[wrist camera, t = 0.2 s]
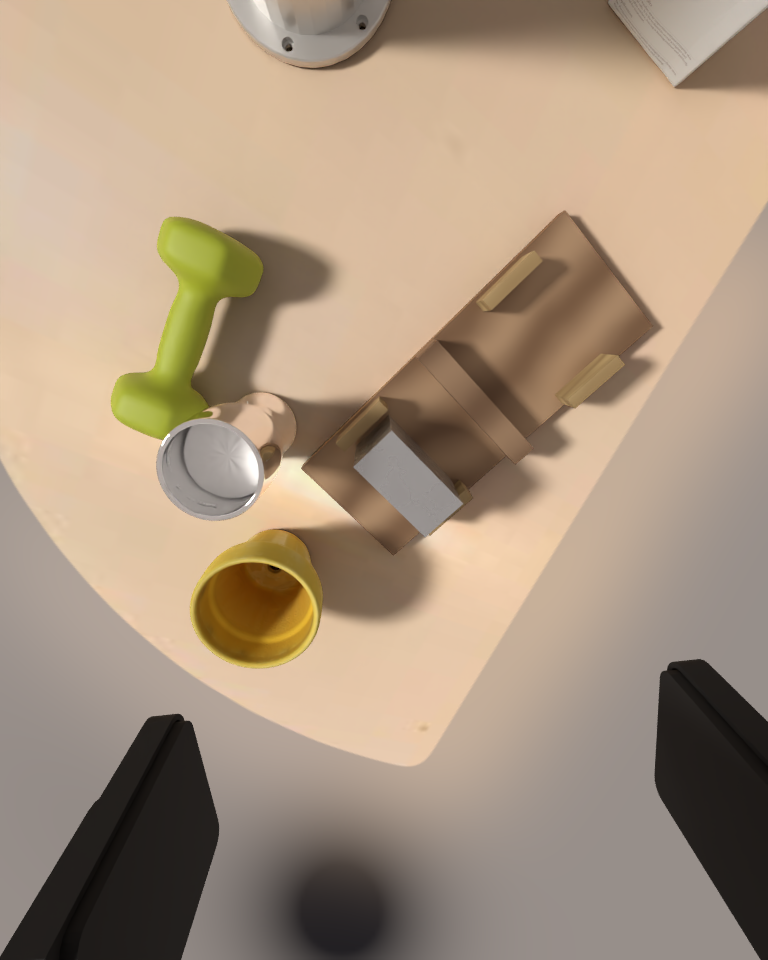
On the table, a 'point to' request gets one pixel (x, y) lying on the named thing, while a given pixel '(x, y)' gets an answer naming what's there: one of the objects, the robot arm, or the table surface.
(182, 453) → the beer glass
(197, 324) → the dumbbell
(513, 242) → the table surface
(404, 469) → the grey rectangular block
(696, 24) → the skincare box
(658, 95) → the table surface
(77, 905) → the robot arm
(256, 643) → the plant pot
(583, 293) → the board
